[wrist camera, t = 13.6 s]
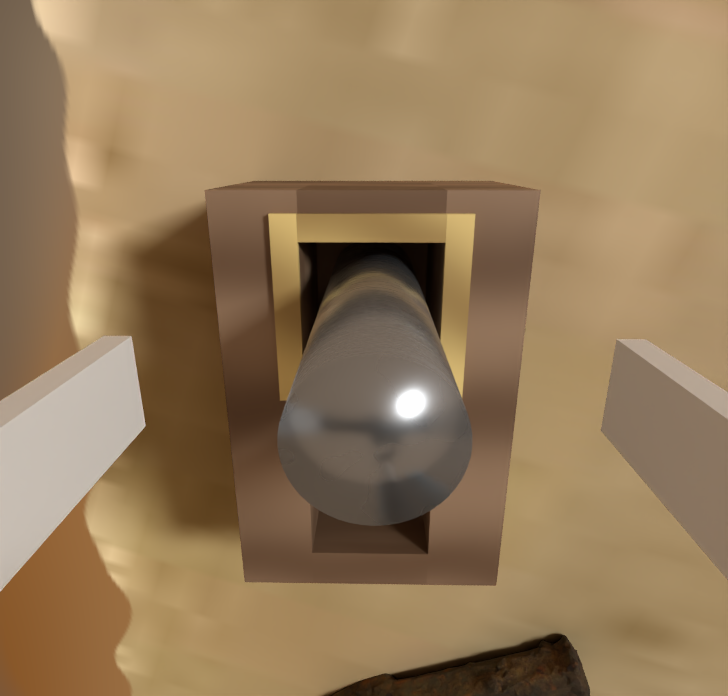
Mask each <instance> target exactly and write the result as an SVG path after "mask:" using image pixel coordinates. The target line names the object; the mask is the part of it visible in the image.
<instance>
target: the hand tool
mask: <svg viewBox="0 0 728 696" xmlns="http://www.w3.org/2000/svg"><path fill="white" fill-rule="evenodd" d="M332 696H590V689H589V685H588V682H587V679H586V676H585V673H584V670H583V667H582V663H581V661H580V659H579V656H578V654H577V650H575V649H574V648H573V646H572V644H571V643H570V642H569V640H568V639H567V637H566V636H565V635H563V636H562V638H561V639H560V640H559V641H558V642H557V643H555V644H552V643H549V642H546V641H543V640H542V641H541V642H540V644H539V646H538V648H535V649H532V650H528V651H524V652H519V653H515V654H511V655H507V656H503V657H499V658H495V659H490V660H485V661H481V662H473V663H472V662H469V663H468V664H466V665H463V666H458V667H454V668H447V669H445V670H442V671H437V672H433V673H429V674H424V675H420V676H416V677H411V678H405V679H400V680H396V679H395V678H394V677H393V676H392V675H390V674H381V675H378V676H374V677H371V678H368V679H365V680H362V681H360V682H358V683H356V684H353V685H351V686H349V687H347V688H345V689H343V690H341V691H339V692H337V693H335V694H333V695H332Z"/></svg>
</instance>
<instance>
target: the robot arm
mask: <svg viewBox="0 0 728 696" xmlns="http://www.w3.org/2000/svg"><path fill="white" fill-rule="evenodd" d="M145 426H146V424H145V418H144V412H143V406H142V399H141V393H140V387H139V380H138V374H137V368H136V361H135V355H134V349H133V343H132V336H103V337H101V338H99V339H98V340H96V341H95V342H93V343H92V344H90V345H88V346H87V347H85V348H84V349H82V350H80V351H79V352H77V353H76V354H74V355H72V356H71V357H69V358H68V359H66V360H65V361H63V362H61V363H60V364H58V365H57V366H55V367H53V368H52V369H50V370H49V371H47V372H46V373H44V374H43V375H41V376H39V377H37V378H36V379H34V380H33V381H31V382H30V383H28V384H26V385H25V386H23V387H22V388H20V389H18V390H17V391H15V392H14V393H12V394H10V395H9V396H7V397H6V398H4V399H3V400H1V401H0V591H1V590H2V589H3V588H4V587H5V585H6V584H7V583H8V582H9V581H10V580H11V579H12V577H13V576H14V575H15V574H16V573H17V572H18V571H19V570H20V568H21V567H22V566H23V565H24V564H25V563H26V562H27V560H28V559H29V558H30V557H31V556H32V555H33V554H34V553H35V551H36V550H37V549H38V548H39V547H40V546H41V545H42V543H43V542H44V541H45V540H46V539H47V538H48V537H49V535H50V534H51V533H52V532H53V531H54V530H55V529H56V528H57V526H58V525H59V524H60V523H61V522H62V521H63V520H64V518H65V517H66V516H67V515H68V514H69V513H70V511H71V510H72V509H73V508H74V507H75V506H76V505H77V504H78V502H79V501H80V500H81V499H82V498H83V497H84V496H85V495H86V493H87V492H88V491H89V490H90V489H91V488H92V487H93V485H94V484H95V483H96V482H97V481H98V480H99V479H100V478H101V476H102V475H103V474H104V473H105V472H106V471H107V470H108V468H109V467H110V466H111V465H112V464H113V463H114V462H115V460H116V459H117V458H118V457H119V456H120V455H121V454H122V453H123V451H124V450H125V449H126V448H127V447H128V446H129V445H130V443H131V442H132V441H133V440H134V439H135V438H136V437H137V435H138V434H139V433H140V432H141V431H142V430H143V429H144V428H145ZM601 431H602V432H603V434H604V435H605V436H606V437H607V438H608V439H609V441H610V442H611V443H612V444H613V445H614V447H615V448H616V449H617V450H618V451H619V452H620V454H621V455H622V456H623V457H624V458H625V460H626V461H627V462H628V463H629V464H630V465H631V467H632V468H633V469H634V470H635V471H636V473H637V474H638V475H639V476H640V477H641V478H642V480H643V481H644V482H645V483H646V484H647V485H648V487H649V488H650V489H651V490H652V491H653V493H654V494H655V495H656V496H657V497H658V498H659V500H660V501H661V502H662V503H663V504H664V506H665V507H666V508H667V509H668V510H669V511H670V513H671V514H672V515H673V516H674V517H675V518H676V520H677V521H678V522H679V523H680V524H681V526H682V527H683V528H684V529H685V530H686V531H687V533H688V534H689V535H690V536H691V537H692V539H693V540H694V541H695V542H696V543H697V544H698V546H699V547H700V548H701V549H702V550H703V551H704V553H705V554H706V555H707V556H708V557H709V559H710V560H711V561H712V562H713V563H714V564H715V566H716V567H717V568H718V569H719V570H720V572H721V573H722V574H723V575H724V576H725V577H726V579H727V580H728V392H726V391H725V390H723V389H722V388H720V387H719V386H717V385H716V384H714V383H712V382H711V381H709V380H708V379H706V378H705V377H703V376H702V375H700V374H699V373H697V372H695V371H694V370H692V369H691V368H689V367H688V366H686V365H685V364H683V363H682V362H680V361H678V360H677V359H675V358H674V357H672V356H671V355H669V354H668V353H666V352H664V351H663V350H661V349H660V348H658V347H657V346H655V345H654V344H652V343H651V342H649V341H647V340H646V339H617V340H616V346H615V352H614V358H613V364H612V369H611V375H610V381H609V387H608V393H607V398H606V404H605V410H604V416H603V422H602V427H601Z"/></svg>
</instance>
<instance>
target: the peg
mask: <svg viewBox="0 0 728 696" xmlns="http://www.w3.org/2000/svg"><path fill="white" fill-rule="evenodd" d="M277 446H278V453H279V458H280V461H281V465H282V468H283V470H284V472H285V474H286V476H287V478H288V480H289V481H290V483H291V484H292V486H293V487H294V488H295V490H296V491H297V492H298V493H299V494H300V496H302V497H303V498H304V499H305V500H306V501H307V502H308V503H309V504H311V505H312V506H314V507H315V508H316V509H318V510H319V511H321V512H323V513H325V514H327V515H329V516H331V517H334V518H336V519H338V520H342V521H345V522H349V523H353V524H359V525H369V526H381V525H391V524H398V523H401V522H405V521H409V520H412V519H414V518H417V517H419V516H421V515H423V514H425V513H427V512H429V511H431V510H432V509H434V508H435V507H437V506H438V505H439V504H441V503H442V502H443V501H444V500H445V499H446V498H447V497H449V496H450V494H451V493H452V492H453V491H454V490H455V489H456V487H457V486H458V484H459V483H460V481H461V480H462V478H463V476H464V474H465V472H466V470H467V468H468V464H469V461H470V458H471V452H472V429H471V423H470V420H469V417H468V413H467V411H466V408H465V405H464V403H463V400H462V397H461V395H460V392H459V389H458V386H457V384H456V381H455V378H454V376H453V373H452V370H451V368H450V365H449V362H448V360H447V357H446V354H445V352H444V349H443V346H442V344H441V341H440V338H439V336H438V333H437V330H436V328H435V325H434V322H433V320H432V317H431V314H430V312H429V309H428V306H427V304H426V301H425V298H424V296H423V293H422V290H421V288H420V285H419V282H418V280H417V277H416V274H415V272H414V269H413V266H412V264H411V261H410V259H409V257H408V256H407V254H406V253H405V251H404V250H403V249H402V248H401V247H400V246H399V245H397V244H396V243H394V242H353V243H351V244H350V245H348V246H347V247H346V248H345V249H344V250H343V251H342V252H341V254H340V255H339V257H338V259H337V261H336V263H335V266H334V269H333V272H332V274H331V277H330V280H329V283H328V286H327V289H326V291H325V294H324V297H323V300H322V303H321V305H320V308H319V311H318V314H317V317H316V320H315V322H314V325H313V328H312V331H311V334H310V336H309V339H308V342H307V345H306V348H305V350H304V353H303V356H302V359H301V362H300V365H299V367H298V370H297V373H296V376H295V379H294V381H293V384H292V387H291V390H290V393H289V396H288V398H287V401H286V404H285V407H284V410H283V413H282V416H281V419H280V422H279V428H278V434H277Z"/></svg>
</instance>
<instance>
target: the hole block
mask: <svg viewBox="0 0 728 696" xmlns="http://www.w3.org/2000/svg"><path fill="white" fill-rule="evenodd" d="M540 191H541V190H536V189H531V188H525V187H520V186H515V185H510V184H504V183H499V182H494V181H252V182H246V183H241V184H235V185H230V186H225V187H219V188H214V189H209V190H205V198H206V207H207V217H208V227H209V237H210V246H211V256H212V266H213V276H214V286H215V295H216V305H217V315H218V325H219V334H220V344H221V354H222V364H223V373H224V383H225V393H226V403H227V412H228V422H229V432H230V442H231V452H232V461H233V471H234V481H235V491H236V500H237V510H238V520H239V530H240V539H241V549H242V559H243V569H244V578H245V582H280V583H350V584H421V585H491V586H496V582H497V573H498V564H499V555H500V547H501V538H502V529H503V520H504V511H505V502H506V493H507V484H508V475H509V466H510V458H511V449H512V440H513V431H514V422H515V413H516V404H517V395H518V386H519V377H520V369H521V360H522V351H523V342H524V333H525V324H526V315H527V306H528V297H529V288H530V280H531V271H532V262H533V253H534V244H535V235H536V226H537V217H538V208H539V199H540ZM353 242H394V243H396V244H397V245H399V246H400V247H401V248H402V249H403V250H404V251H405V253H406V254H407V256H408V257H409V259H410V261H411V264H412V266H413V269H414V272H415V274H416V277H417V280H418V282H419V285H420V288H421V290H422V293H423V296H424V298H425V301H426V304H427V306H428V309H429V312H430V314H431V317H432V320H433V322H434V325H435V328H436V330H437V333H438V336H439V338H440V341H441V344H442V346H443V349H444V352H445V354H446V357H447V360H448V362H449V365H450V368H451V370H452V373H453V376H454V378H455V381H456V384H457V386H458V389H459V392H460V395H461V397H462V400H463V403H464V405H465V408H466V411H467V413H468V417H469V420H470V423H471V429H472V452H471V458H470V461H469V464H468V468H467V470H466V472H465V474H464V476H463V478H462V480H461V481H460V483H459V484H458V486H457V487H456V489H455V490H454V491H453V492H452V493H451V494H450V496H449V497H447V498H446V499H445V500H444V501H443V502H442V503H441V504H439V505H438V506H437V507H435V508H434V509H432V510H431V511H429V512H427V513H425V514H423V515H421V516H419V517H417V518H414V519H412V520H409V521H405V522H401V523H398V524H391V525H381V526H369V525H359V524H353V523H349V522H345V521H342V520H338V519H336V518H334V517H331V516H329V515H327V514H325V513H323V512H321V511H319V510H318V509H316V508H315V507H314V506H312V505H311V504H309V503H308V502H307V501H306V500H305V499H304V498H303V497H302V496H300V494H299V493H298V492H297V491H296V490H295V488H294V487H293V486H292V484H291V483H290V481H289V480H288V478H287V476H286V474H285V472H284V470H283V468H282V465H281V461H280V458H279V453H278V446H277V434H278V428H279V422H280V419H281V416H282V413H283V410H284V407H285V404H286V401H287V398H288V396H289V393H290V390H291V387H292V384H293V381H294V379H295V376H296V373H297V370H298V367H299V365H300V362H301V359H302V356H303V353H304V350H305V348H306V345H307V342H308V339H309V336H310V334H311V331H312V328H313V325H314V322H315V320H316V317H317V314H318V311H319V308H320V305H321V303H322V300H323V297H324V294H325V291H326V289H327V286H328V283H329V280H330V277H331V274H332V272H333V269H334V266H335V263H336V261H337V259H338V257H339V255H340V254H341V252H342V251H343V250H344V249H345V248H346V247H347V246H348V245H350V244H351V243H353Z"/></svg>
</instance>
